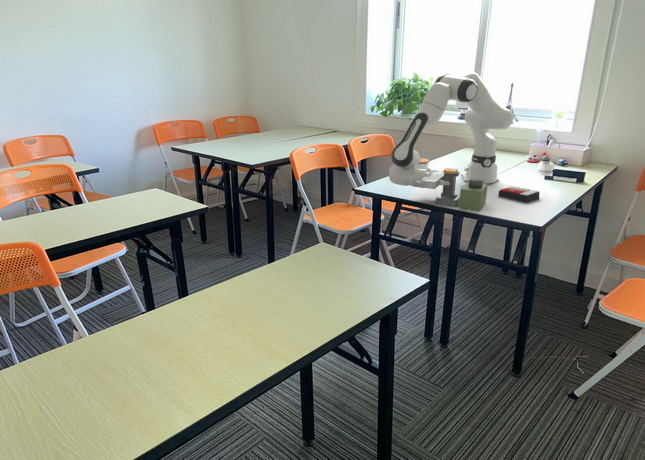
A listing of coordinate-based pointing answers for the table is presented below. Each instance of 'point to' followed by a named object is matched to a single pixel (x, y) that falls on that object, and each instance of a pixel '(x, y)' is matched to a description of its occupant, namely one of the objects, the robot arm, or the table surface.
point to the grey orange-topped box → (450, 176)
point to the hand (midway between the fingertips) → (451, 181)
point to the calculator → (519, 194)
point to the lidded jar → (423, 163)
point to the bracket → (448, 200)
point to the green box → (473, 195)
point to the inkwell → (545, 164)
